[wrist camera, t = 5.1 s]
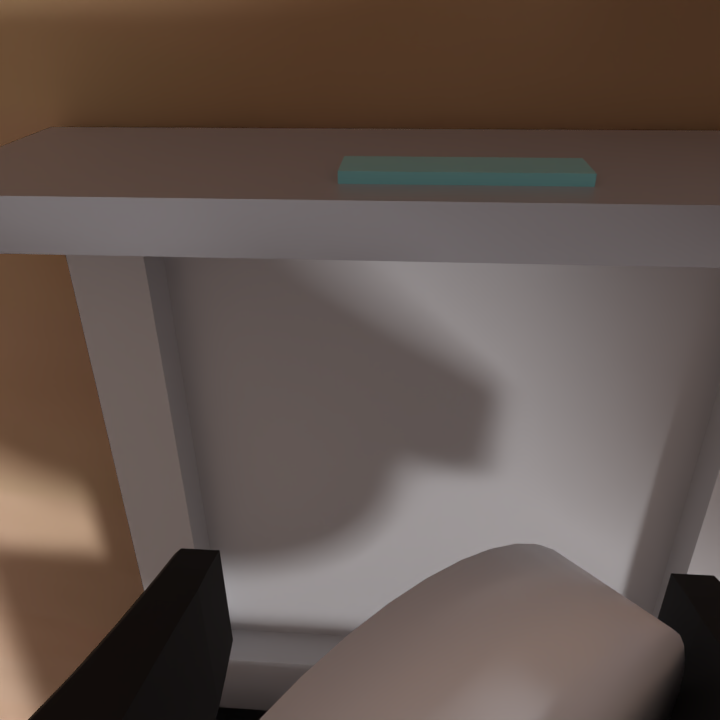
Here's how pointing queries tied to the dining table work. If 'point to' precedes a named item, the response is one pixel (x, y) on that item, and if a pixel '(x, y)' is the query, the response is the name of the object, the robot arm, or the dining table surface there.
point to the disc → (498, 650)
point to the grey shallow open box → (390, 355)
